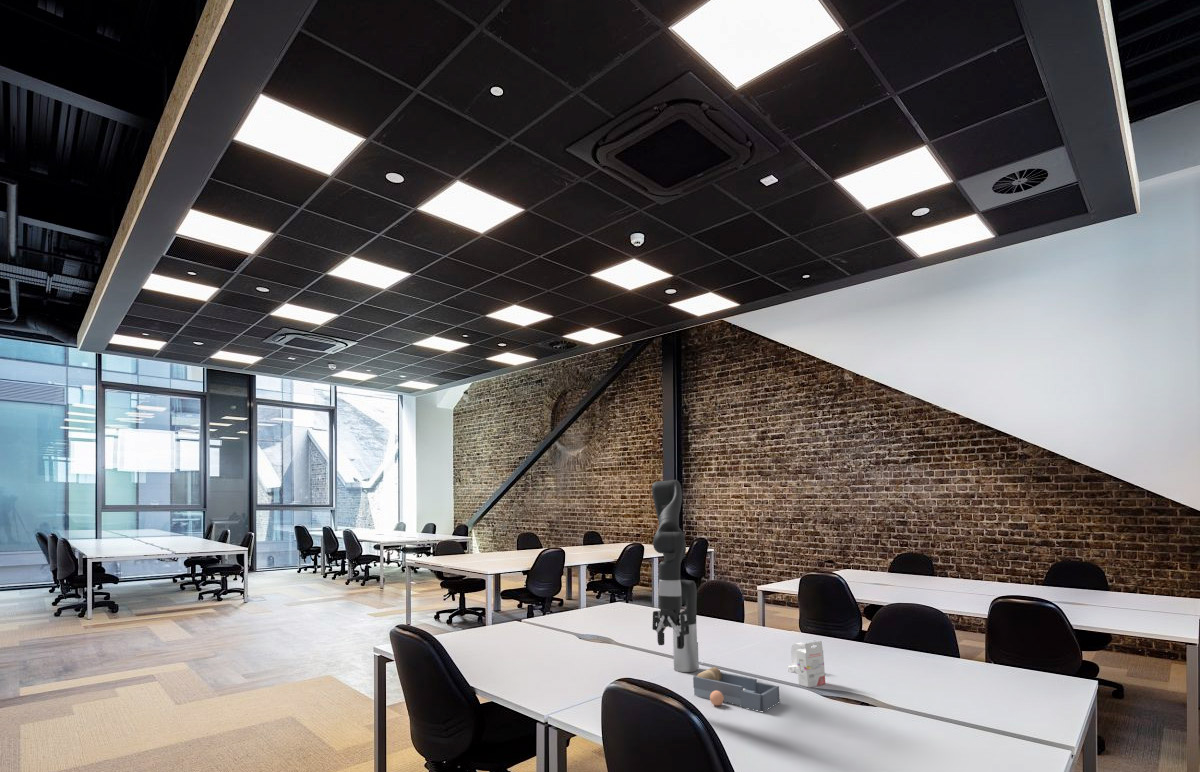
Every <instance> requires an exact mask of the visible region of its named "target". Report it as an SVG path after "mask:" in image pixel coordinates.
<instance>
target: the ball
mask: <svg viewBox="0 0 1200 772" xmlns="http://www.w3.org/2000/svg"><path fill="white" fill-rule="evenodd" d="M709 701H710V703H711V704H712V705H714V706H716V707H718V706H721V705H722V704H723V703H724V702H723V701H724V697H723V694H722V693H721V692H720V691H713V692H712V693H711V695H710V699H709Z"/></svg>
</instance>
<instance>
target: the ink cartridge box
mask: <svg viewBox="0 0 1200 772" xmlns="http://www.w3.org/2000/svg"><path fill="white" fill-rule="evenodd" d="M804 644H805V648H806V649H800V650H796V651H797V666H798V674H797V678H798V685H799V686H802V687H806V688H808V689H810V688H814V687H818V686H823V685H826V673H825V657H824V650H823V649H824V648H823V642H822V640H819V641H813V642H807V643H804ZM812 646H813V647H812ZM814 646H815V647H814Z"/></svg>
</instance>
